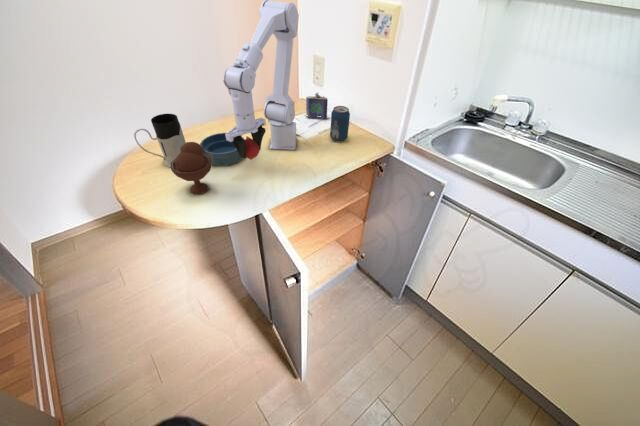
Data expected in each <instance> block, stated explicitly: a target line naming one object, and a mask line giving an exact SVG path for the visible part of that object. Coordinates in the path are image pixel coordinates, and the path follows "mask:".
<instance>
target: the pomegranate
mask: <svg viewBox="0 0 640 426" xmlns="http://www.w3.org/2000/svg"><path fill="white" fill-rule="evenodd" d="M244 140H246V145H245V150H246V158H245V159H248V160H253V159H255V158H257V157H258V155H259V153H260V150H259V146H258V144H257V143H256V142H255V141H254V140H253V139H252V138H250V137H249V136H247V135H246V136H245V138H244Z"/></svg>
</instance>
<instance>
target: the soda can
mask: <svg viewBox="0 0 640 426" xmlns="http://www.w3.org/2000/svg"><path fill="white" fill-rule="evenodd" d="M350 117H351V113H350V109H349V108H348V107H347V106H345V105H337V106H334V107H333V109H332V111H331V114H330V129H329V131H330V132H329V136H330V139H331V141H333V142H335V143H343V142H345V141H346V140H347V139H348V137H349V126H350Z"/></svg>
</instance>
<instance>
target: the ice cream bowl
mask: <svg viewBox="0 0 640 426" xmlns="http://www.w3.org/2000/svg"><path fill="white" fill-rule="evenodd" d="M180 150H181V153H179V155H178V156H177V157H176V159H175V160H173V161H172V162H171V167H170V170H171V171H172V173H173V175H175V176H176V177H177V178H179V179H182V180H183V181H187V182H193V183H194V184H192V185H191V186H190V187H189V193H190V194H192V195H193V196H198V195H203V194H206V193H207V191H208V190H209V185H208V184H207V183H206V182H205V183H204V182H201V180H203V179H204V178H205V177H206V176H207V175H208V174H209V173H210V172H211V169H212V164H211V159H210V156H208V155H205V154H204V151H205V150H204V149H203V148H202V146H201V145H200V143H198V142H195V141H187V142H186V143H185V144H184V145H182V147H181V148H180Z"/></svg>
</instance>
